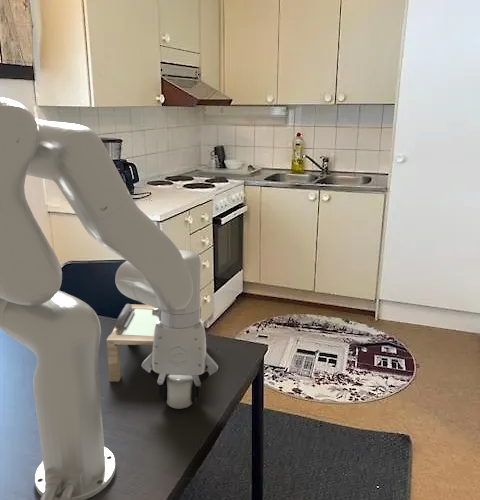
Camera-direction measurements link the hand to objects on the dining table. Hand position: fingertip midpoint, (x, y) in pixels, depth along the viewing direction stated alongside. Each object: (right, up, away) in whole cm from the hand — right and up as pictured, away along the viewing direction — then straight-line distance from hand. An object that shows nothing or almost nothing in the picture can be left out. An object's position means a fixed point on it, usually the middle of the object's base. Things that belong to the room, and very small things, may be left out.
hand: (179, 398), depth 99 cm
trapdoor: (-8, +12, +14) cm, 20 cm away
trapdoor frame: (-7, +4, +17) cm, 18 cm away
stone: (0, -1, 0) cm, 1 cm away
